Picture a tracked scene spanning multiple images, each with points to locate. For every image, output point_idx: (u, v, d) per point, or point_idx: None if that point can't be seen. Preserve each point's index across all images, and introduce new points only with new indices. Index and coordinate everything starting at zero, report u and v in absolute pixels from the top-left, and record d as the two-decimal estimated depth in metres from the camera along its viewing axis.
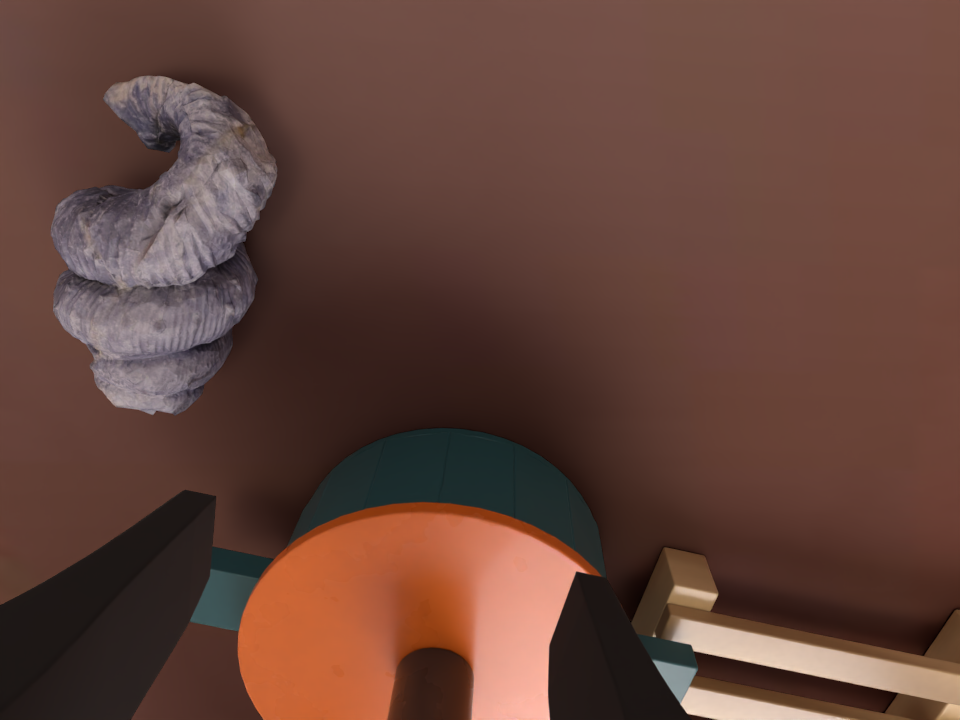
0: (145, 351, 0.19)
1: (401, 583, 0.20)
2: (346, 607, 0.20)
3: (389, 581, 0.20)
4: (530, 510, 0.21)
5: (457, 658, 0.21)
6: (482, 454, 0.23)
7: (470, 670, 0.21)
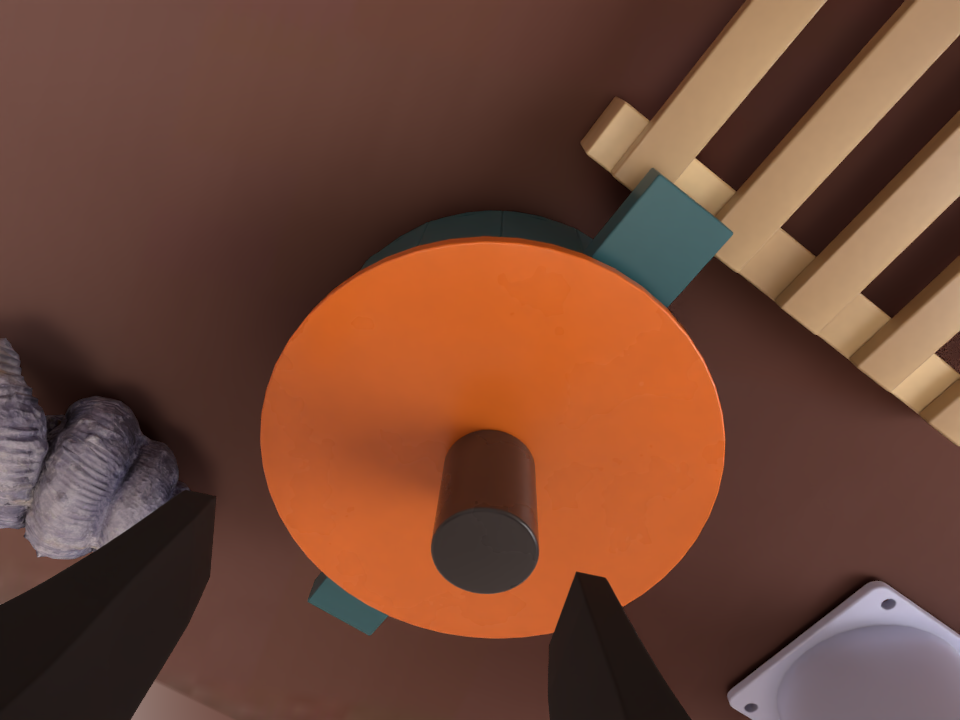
0: (87, 517, 0.21)
1: (350, 444, 0.18)
2: (364, 504, 0.19)
3: (344, 453, 0.19)
4: None
5: (465, 437, 0.18)
6: None
7: (488, 432, 0.18)
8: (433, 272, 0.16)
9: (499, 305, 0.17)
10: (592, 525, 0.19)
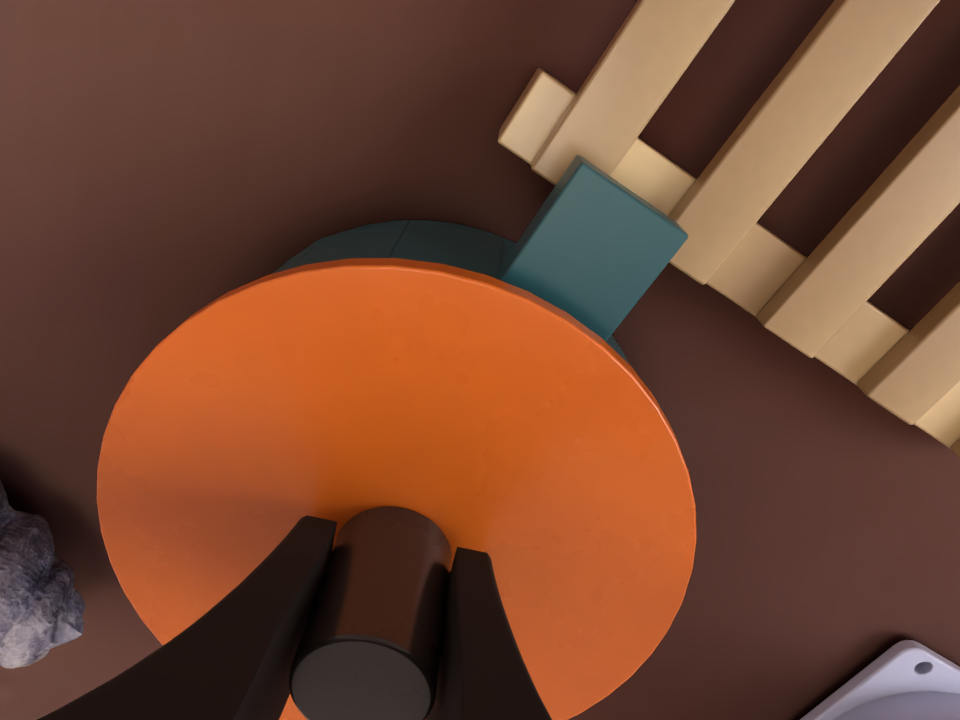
0: None
1: (214, 531, 0.14)
2: None
3: (208, 542, 0.14)
4: None
5: (356, 518, 0.14)
6: None
7: (384, 510, 0.14)
8: (285, 310, 0.12)
9: (377, 348, 0.12)
10: (533, 617, 0.15)
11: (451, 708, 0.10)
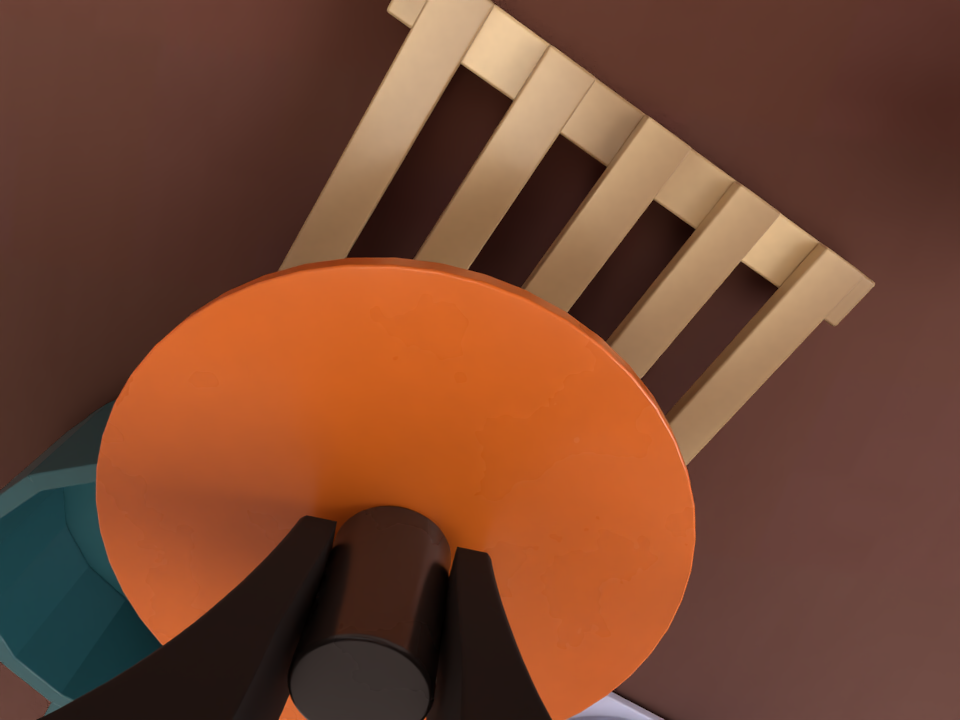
0: None
1: (213, 530, 0.14)
2: None
3: (208, 542, 0.14)
4: (20, 474, 0.22)
5: (355, 517, 0.14)
6: None
7: (383, 510, 0.14)
8: (284, 309, 0.12)
9: (376, 348, 0.12)
10: (533, 616, 0.15)
11: (451, 708, 0.10)
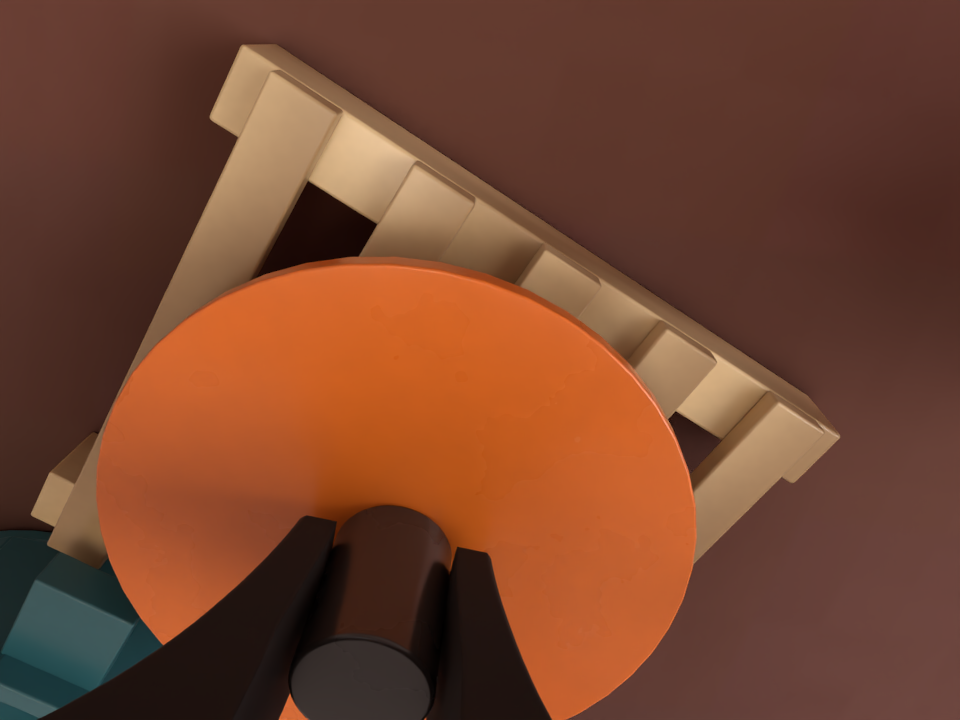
0: None
1: (213, 530, 0.14)
2: None
3: (208, 541, 0.14)
4: None
5: (355, 517, 0.14)
6: None
7: (384, 509, 0.14)
8: (285, 308, 0.12)
9: (377, 347, 0.12)
10: (533, 616, 0.15)
11: (451, 708, 0.10)
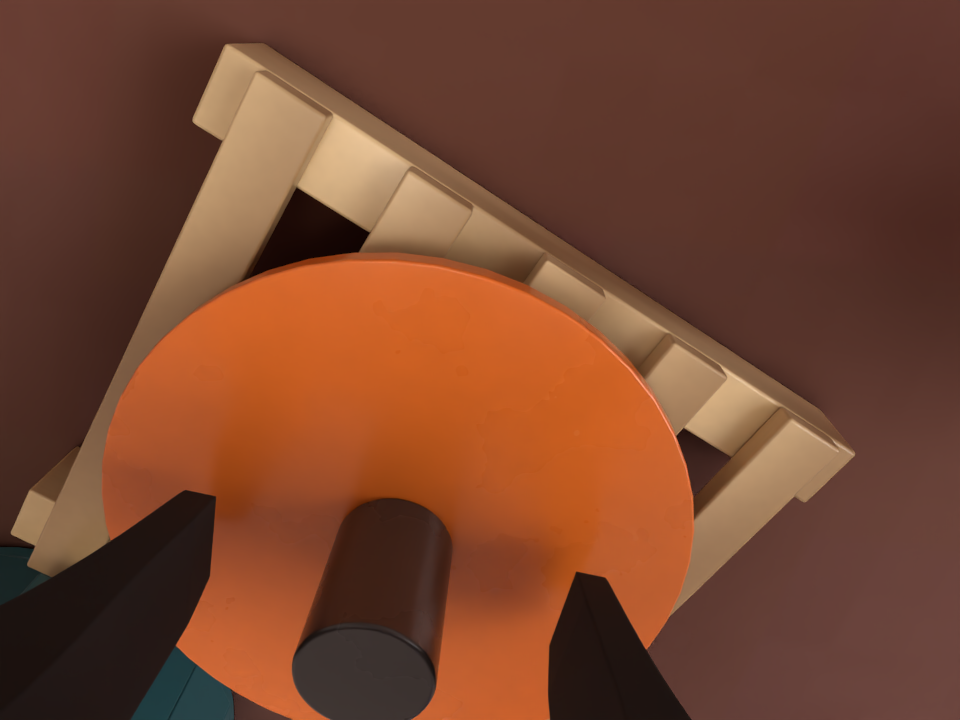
0: None
1: (217, 523, 0.15)
2: (246, 593, 0.15)
3: None
4: None
5: (357, 509, 0.14)
6: None
7: (386, 502, 0.14)
8: (288, 303, 0.12)
9: (378, 341, 0.13)
10: (533, 608, 0.15)
11: None
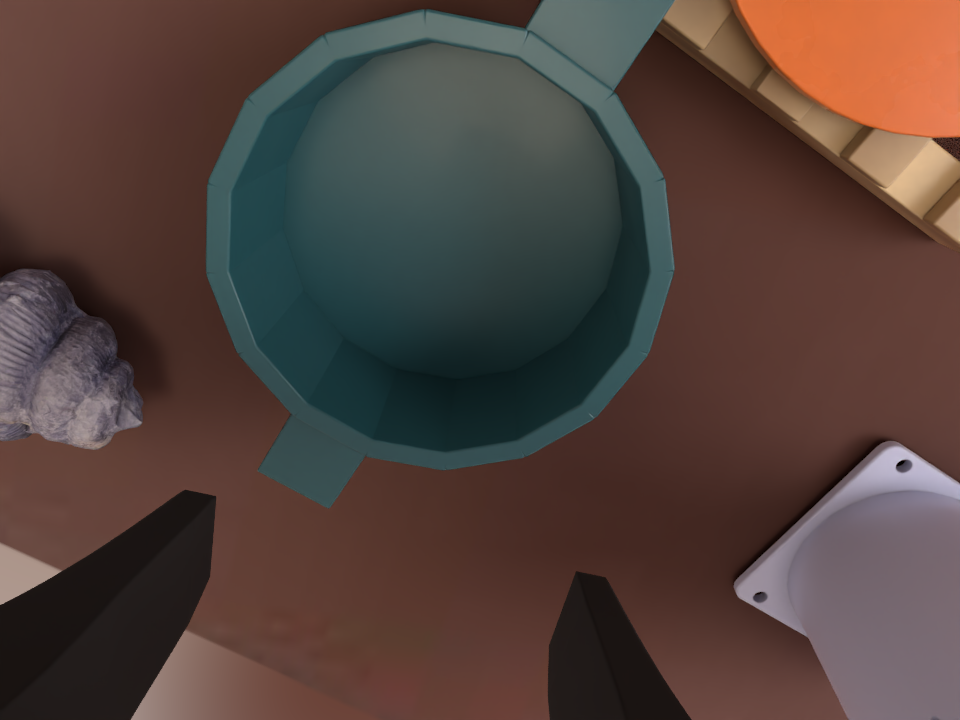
0: (12, 384, 0.20)
1: None
2: None
3: None
4: None
5: None
6: None
7: None
8: None
9: None
10: None
11: None
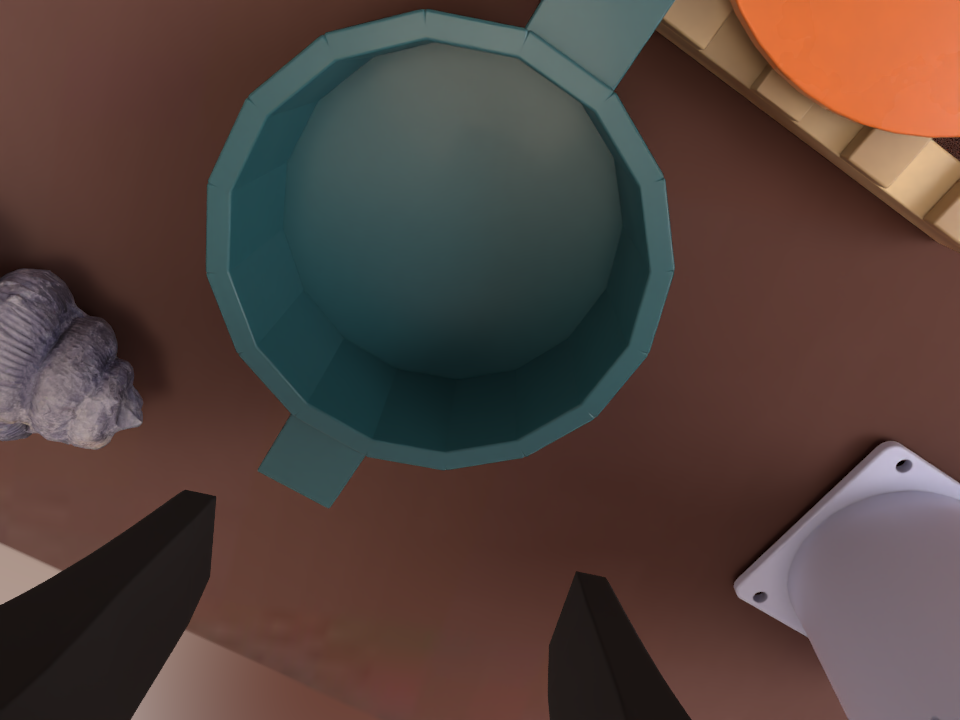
0: (12, 384, 0.20)
1: None
2: None
3: None
4: None
5: None
6: None
7: None
8: None
9: None
10: None
11: None
